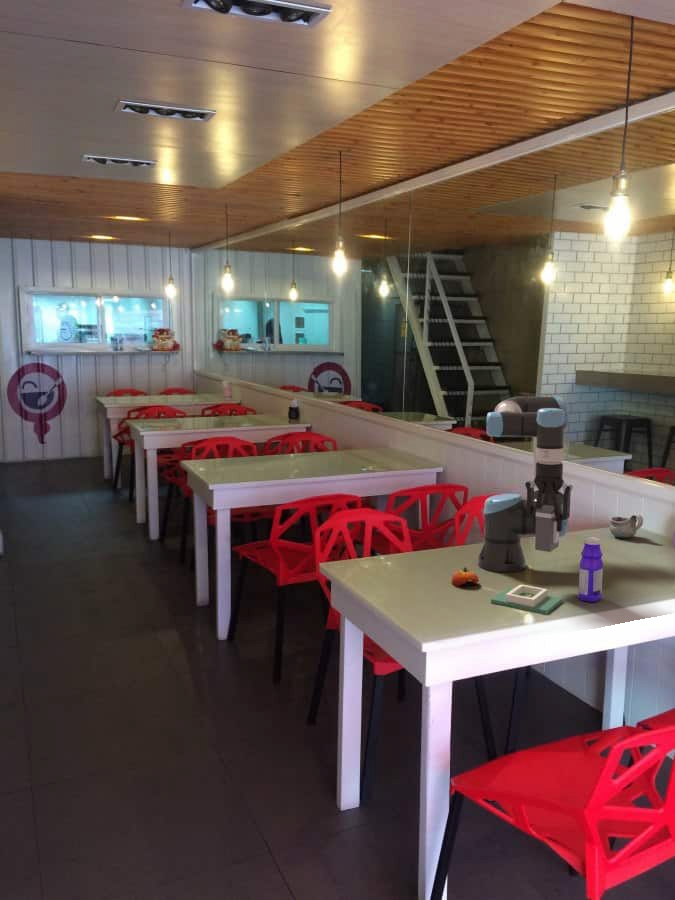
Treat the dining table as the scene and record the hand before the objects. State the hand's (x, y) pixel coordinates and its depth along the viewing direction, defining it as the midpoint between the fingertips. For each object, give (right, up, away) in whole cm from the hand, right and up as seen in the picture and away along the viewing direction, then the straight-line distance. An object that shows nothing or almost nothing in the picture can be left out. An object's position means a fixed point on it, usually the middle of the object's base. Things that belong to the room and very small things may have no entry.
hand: (547, 540), depth 213 cm
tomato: (-23, -14, +6) cm, 28 cm away
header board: (-9, -16, -11) cm, 21 cm away
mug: (+46, -7, +58) cm, 74 cm away
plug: (0, -2, 0) cm, 2 cm away
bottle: (+10, -16, -9) cm, 20 cm away
